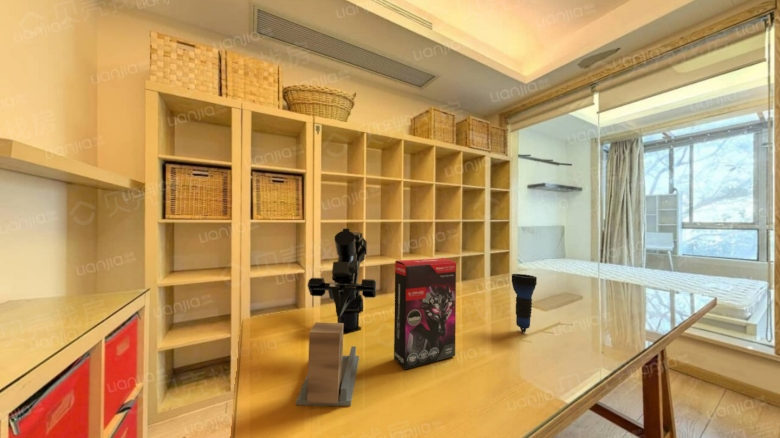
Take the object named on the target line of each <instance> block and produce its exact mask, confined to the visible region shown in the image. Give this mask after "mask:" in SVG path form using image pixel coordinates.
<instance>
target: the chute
mask: <svg viewBox="0 0 780 438" xmlns="http://www.w3.org/2000/svg"><path fill="white" fill-rule="evenodd" d="M356 351H357V346H356V345H355V346H354V345H353V346H351V347H350V352H349V355H346V354H345V355H344V354H343V356H342V385H341V391H340V395H339V399H338V403H307V388H308V374H307V375H306V377H305V379H304V381H303V383H302V385H301V387H300V391H299V393H298V396H297V398H296V399H295V405H296V406H321V407H322V406H323V407H324V406H325V407H326V406H330V407H331V406H332V407H351V405H352V399H353V394H354V388H355V383H356V377H357V372H358V366H359V360H360V355H356V353H357V352H356Z"/></svg>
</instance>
